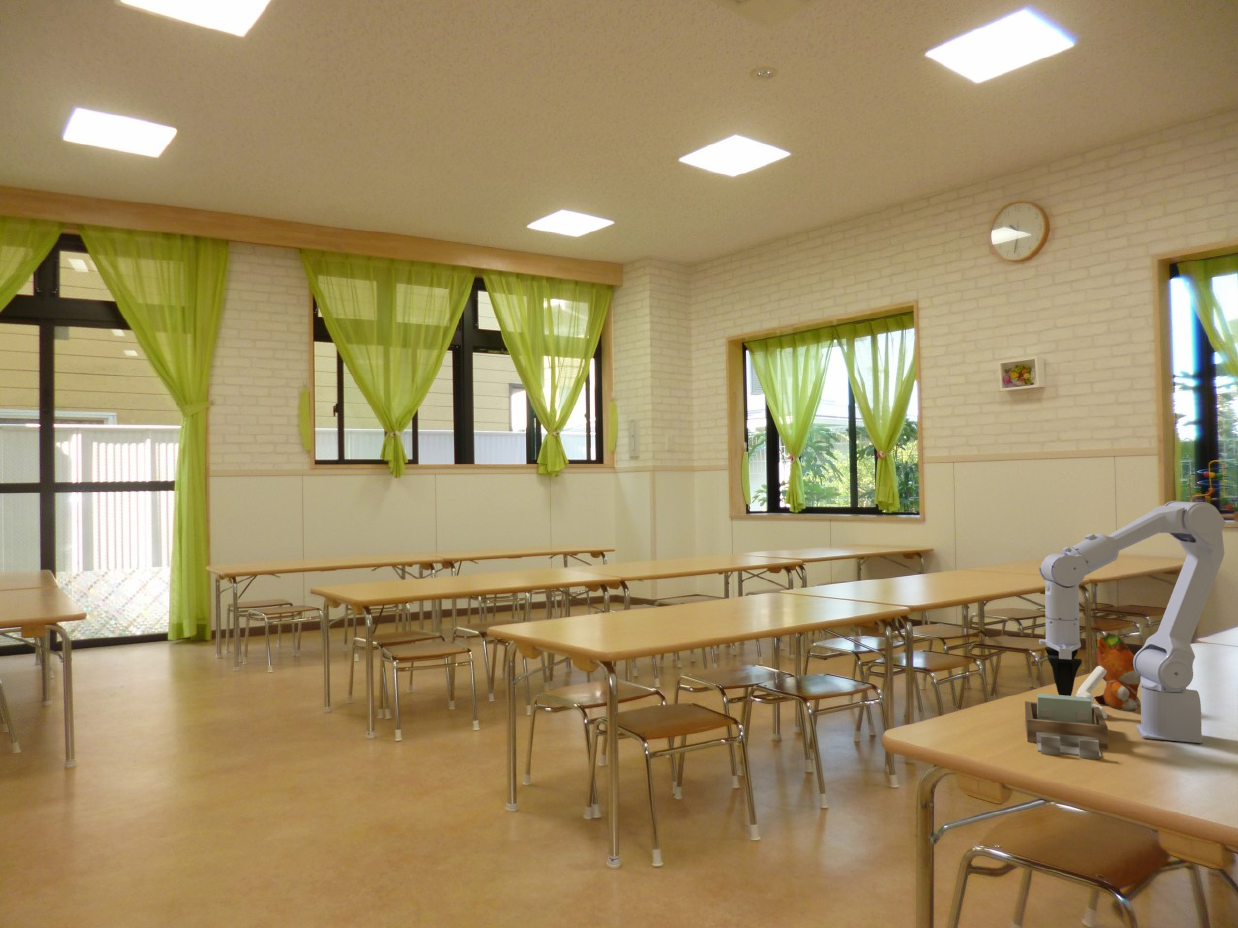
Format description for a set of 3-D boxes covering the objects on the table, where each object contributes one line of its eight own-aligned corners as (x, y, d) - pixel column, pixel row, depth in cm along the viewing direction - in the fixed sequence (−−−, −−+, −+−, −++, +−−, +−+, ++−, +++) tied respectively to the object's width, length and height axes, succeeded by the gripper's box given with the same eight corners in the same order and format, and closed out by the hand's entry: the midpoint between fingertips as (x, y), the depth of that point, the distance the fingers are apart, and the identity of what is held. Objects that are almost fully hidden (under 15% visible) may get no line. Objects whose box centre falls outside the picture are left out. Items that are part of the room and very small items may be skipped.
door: (1090, 729, 166) (1089, 697, 166) (1092, 734, 163) (1091, 701, 163) (1037, 724, 170) (1036, 693, 170) (1038, 729, 167) (1037, 697, 167)
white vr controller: (1139, 693, 176) (1114, 675, 175) (1101, 739, 177) (1076, 722, 176) (1115, 676, 183) (1091, 659, 182) (1078, 721, 185) (1054, 705, 183)
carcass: (1099, 727, 170) (1099, 707, 170) (1112, 760, 151) (1111, 737, 151) (1025, 721, 175) (1024, 701, 175) (1028, 752, 156) (1028, 729, 157)
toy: (1132, 714, 180) (1130, 640, 180) (1085, 705, 186) (1084, 634, 186) (1151, 704, 187) (1150, 633, 187) (1106, 696, 194) (1105, 627, 194)
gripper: (1037, 611, 175) (1038, 679, 175) (1040, 622, 162) (1041, 697, 161) (1077, 613, 172) (1078, 682, 172) (1083, 625, 159) (1085, 700, 159)
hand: (1063, 690), depth 167 cm, fingers open, 7 cm apart
